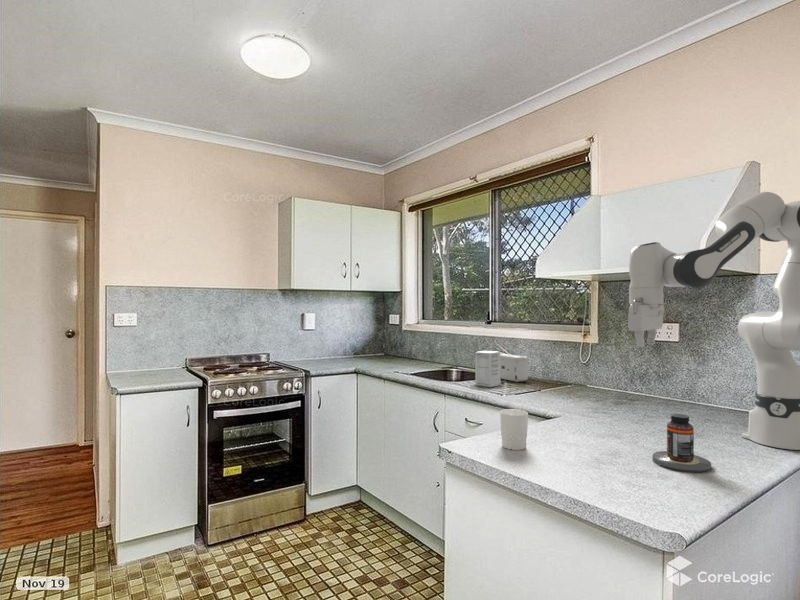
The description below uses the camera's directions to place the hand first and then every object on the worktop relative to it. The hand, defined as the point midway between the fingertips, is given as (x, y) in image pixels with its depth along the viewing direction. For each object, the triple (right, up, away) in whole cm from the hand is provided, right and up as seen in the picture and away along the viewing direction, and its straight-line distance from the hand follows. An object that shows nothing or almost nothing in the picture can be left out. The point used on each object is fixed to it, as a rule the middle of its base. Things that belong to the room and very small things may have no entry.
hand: (645, 345), depth 137 cm
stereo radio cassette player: (-13, -30, +116) cm, 120 cm away
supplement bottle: (+1, -28, -16) cm, 32 cm away
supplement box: (-28, -30, +98) cm, 106 cm away
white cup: (-39, -29, -1) cm, 49 cm away
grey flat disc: (+1, -29, -16) cm, 33 cm away
